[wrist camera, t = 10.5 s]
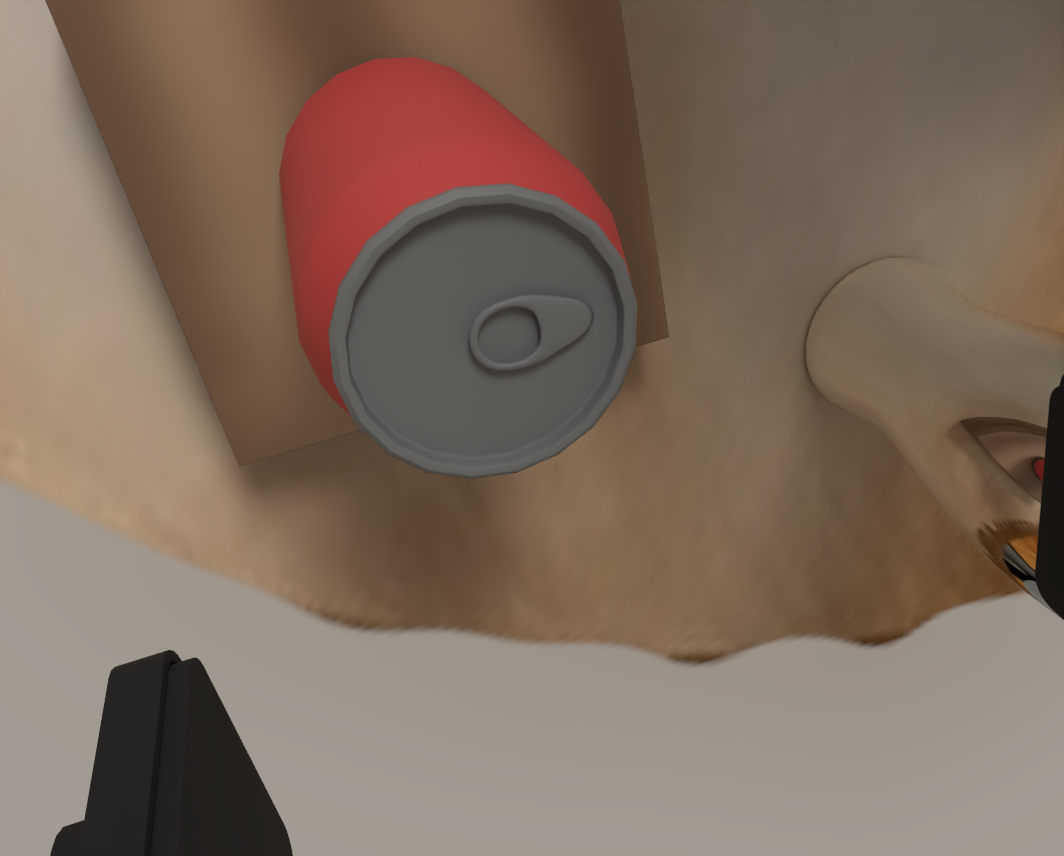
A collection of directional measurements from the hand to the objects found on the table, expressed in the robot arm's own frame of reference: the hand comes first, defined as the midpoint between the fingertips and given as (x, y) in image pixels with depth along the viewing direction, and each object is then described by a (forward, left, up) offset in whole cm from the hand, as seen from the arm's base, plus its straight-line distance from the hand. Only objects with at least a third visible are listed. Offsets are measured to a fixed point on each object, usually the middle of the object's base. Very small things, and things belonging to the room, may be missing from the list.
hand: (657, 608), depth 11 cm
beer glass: (-16, +11, -23) cm, 30 cm away
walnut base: (0, 0, -23) cm, 23 cm away
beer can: (0, 0, -20) cm, 20 cm away
